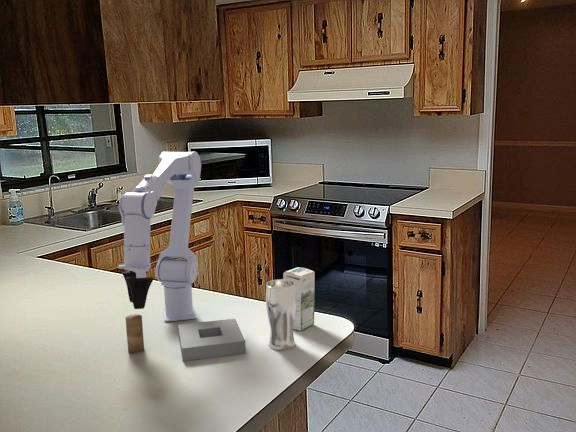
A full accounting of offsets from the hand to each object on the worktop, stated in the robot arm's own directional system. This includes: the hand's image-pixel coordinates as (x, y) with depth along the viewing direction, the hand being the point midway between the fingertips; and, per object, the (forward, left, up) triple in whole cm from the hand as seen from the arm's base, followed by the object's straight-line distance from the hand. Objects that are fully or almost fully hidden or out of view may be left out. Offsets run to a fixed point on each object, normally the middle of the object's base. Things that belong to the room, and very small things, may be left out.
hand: (136, 305), depth 124 cm
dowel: (-1, -1, -11) cm, 11 cm away
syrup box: (-4, +39, -11) cm, 41 cm away
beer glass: (+6, +32, -11) cm, 35 cm away
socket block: (+1, +16, -11) cm, 20 cm away
